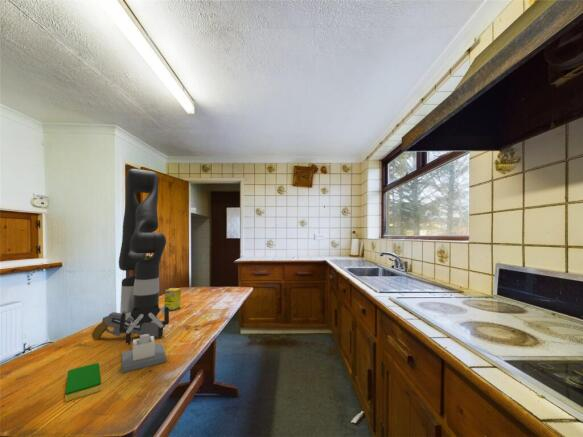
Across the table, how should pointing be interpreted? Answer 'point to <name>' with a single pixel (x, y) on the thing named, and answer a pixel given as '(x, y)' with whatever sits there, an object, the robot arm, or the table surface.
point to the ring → (143, 349)
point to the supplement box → (172, 298)
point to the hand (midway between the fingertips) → (144, 341)
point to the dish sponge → (83, 381)
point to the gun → (114, 322)
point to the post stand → (136, 364)
